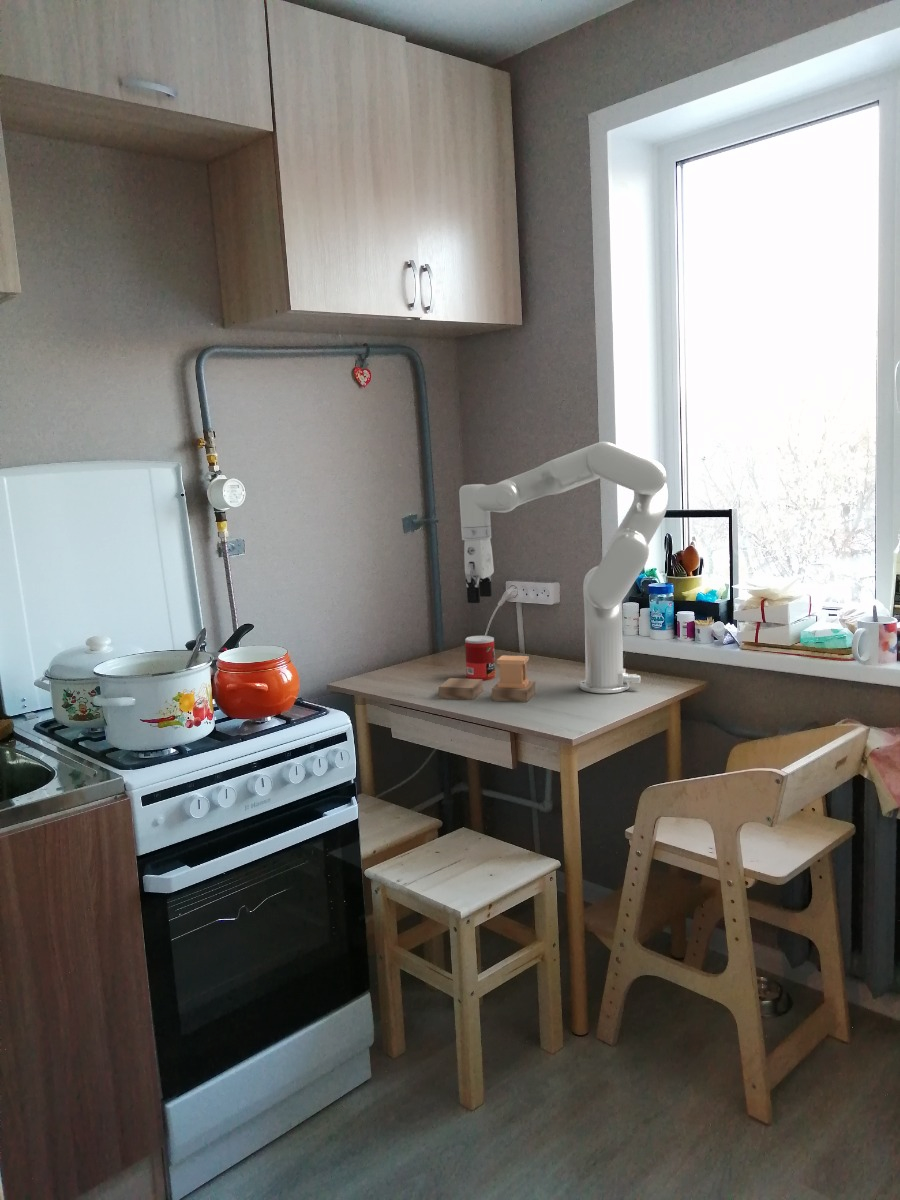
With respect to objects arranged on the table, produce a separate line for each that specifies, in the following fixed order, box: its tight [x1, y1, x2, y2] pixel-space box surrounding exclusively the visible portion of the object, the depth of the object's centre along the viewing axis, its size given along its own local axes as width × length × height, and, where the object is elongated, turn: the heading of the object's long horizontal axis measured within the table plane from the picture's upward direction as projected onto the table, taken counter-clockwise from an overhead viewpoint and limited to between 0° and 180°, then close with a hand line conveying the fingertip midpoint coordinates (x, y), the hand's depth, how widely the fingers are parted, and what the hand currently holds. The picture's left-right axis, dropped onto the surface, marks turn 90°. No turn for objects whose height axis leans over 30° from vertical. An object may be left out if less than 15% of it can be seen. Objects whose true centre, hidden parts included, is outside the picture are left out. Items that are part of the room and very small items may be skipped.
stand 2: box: [491, 680, 536, 703], centre depth 240 cm, size 9×9×3 cm
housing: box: [496, 654, 530, 688], centre depth 239 cm, size 7×5×7 cm
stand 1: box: [438, 677, 484, 701], centre depth 244 cm, size 9×9×3 cm
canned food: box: [464, 635, 496, 681], centre depth 260 cm, size 8×8×11 cm
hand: (480, 599), depth 244 cm, fingers open, 9 cm apart
